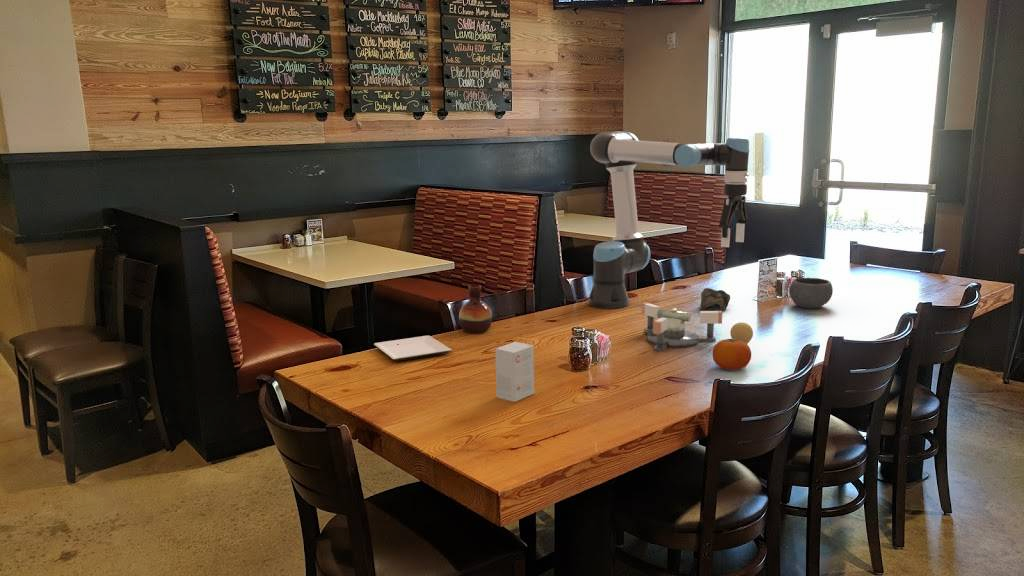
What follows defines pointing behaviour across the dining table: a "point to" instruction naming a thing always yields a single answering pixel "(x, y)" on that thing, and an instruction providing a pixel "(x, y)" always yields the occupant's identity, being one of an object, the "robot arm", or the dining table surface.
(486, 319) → the vase
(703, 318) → the knob
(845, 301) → the dining table surface
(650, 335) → the tribrach
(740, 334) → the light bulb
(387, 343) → the plate
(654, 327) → the knob
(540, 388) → the dining table surface
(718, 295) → the fossil
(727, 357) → the fruit
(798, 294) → the bowl
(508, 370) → the small box
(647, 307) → the knob
